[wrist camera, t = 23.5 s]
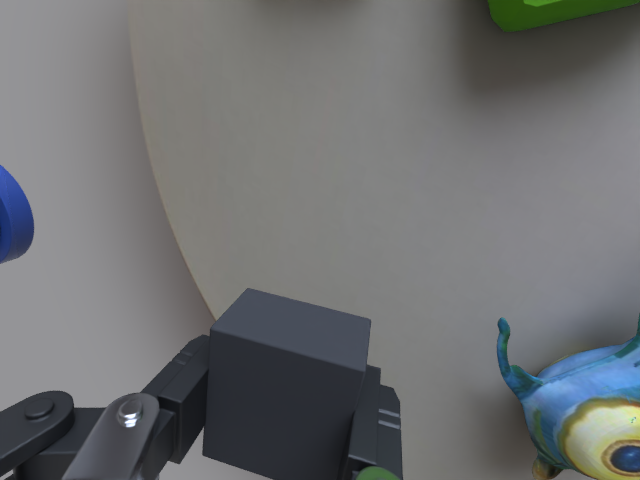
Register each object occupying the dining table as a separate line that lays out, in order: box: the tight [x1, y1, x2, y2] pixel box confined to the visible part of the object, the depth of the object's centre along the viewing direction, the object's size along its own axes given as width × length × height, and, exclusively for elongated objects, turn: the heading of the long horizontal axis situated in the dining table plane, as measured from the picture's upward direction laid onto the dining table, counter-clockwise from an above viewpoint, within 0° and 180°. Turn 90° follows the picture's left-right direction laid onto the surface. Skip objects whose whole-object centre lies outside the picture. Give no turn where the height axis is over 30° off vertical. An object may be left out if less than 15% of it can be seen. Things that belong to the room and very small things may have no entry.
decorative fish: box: [497, 314, 640, 480], centre depth 20 cm, size 13×12×6 cm
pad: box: [203, 288, 371, 480], centre depth 11 cm, size 4×5×3 cm
